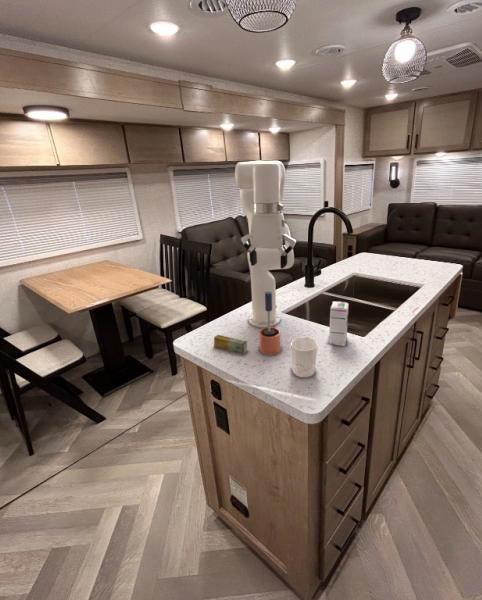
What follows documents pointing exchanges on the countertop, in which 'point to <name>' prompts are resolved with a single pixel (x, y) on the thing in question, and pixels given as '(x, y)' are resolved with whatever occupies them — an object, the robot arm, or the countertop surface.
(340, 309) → the syrup box
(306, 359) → the white cup
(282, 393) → the countertop surface
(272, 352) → the cup
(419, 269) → the countertop surface
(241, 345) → the medication box
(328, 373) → the countertop surface
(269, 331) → the bottle brush
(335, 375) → the countertop surface
